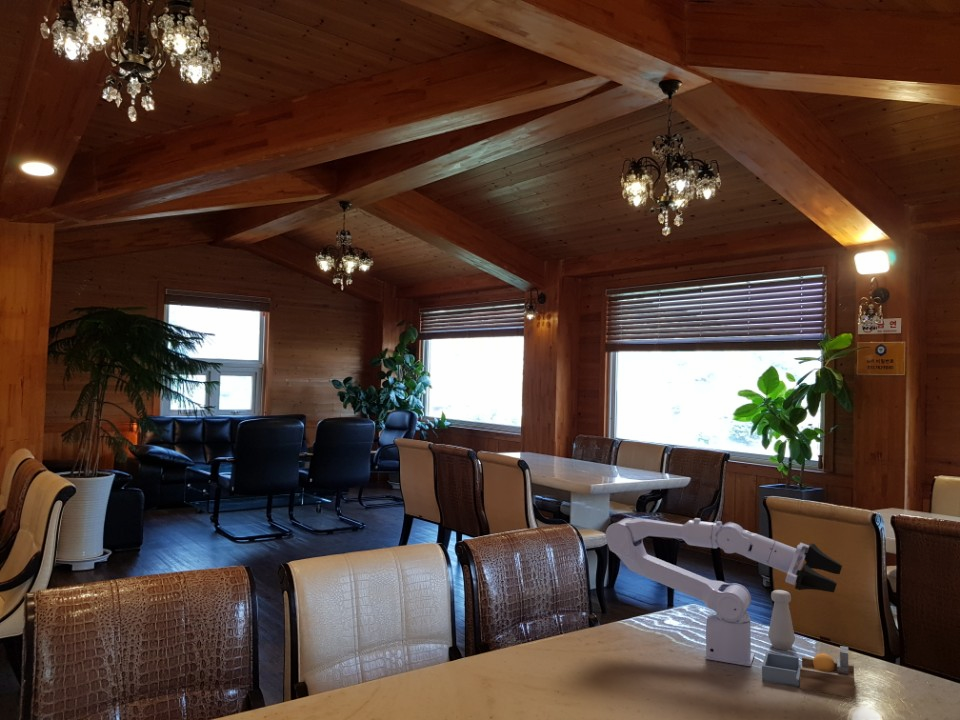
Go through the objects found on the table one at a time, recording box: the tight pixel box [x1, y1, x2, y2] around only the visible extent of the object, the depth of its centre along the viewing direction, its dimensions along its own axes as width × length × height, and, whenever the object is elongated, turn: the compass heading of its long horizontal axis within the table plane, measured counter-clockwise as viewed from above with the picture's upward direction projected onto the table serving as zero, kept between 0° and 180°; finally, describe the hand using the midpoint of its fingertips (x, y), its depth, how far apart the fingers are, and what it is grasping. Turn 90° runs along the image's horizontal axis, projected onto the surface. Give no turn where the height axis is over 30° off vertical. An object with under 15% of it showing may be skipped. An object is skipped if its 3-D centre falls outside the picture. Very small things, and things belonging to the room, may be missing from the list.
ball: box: [813, 652, 835, 672], centre depth 148 cm, size 4×4×4 cm
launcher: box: [799, 656, 856, 699], centre depth 147 cm, size 10×10×4 cm
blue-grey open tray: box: [761, 652, 802, 688], centre depth 151 cm, size 7×9×3 cm
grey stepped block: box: [836, 645, 849, 675], centre depth 146 cm, size 2×5×5 cm, turn 153°
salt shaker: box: [767, 589, 796, 651], centre depth 169 cm, size 6×6×13 cm
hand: (838, 578), depth 152 cm, fingers open, 7 cm apart
